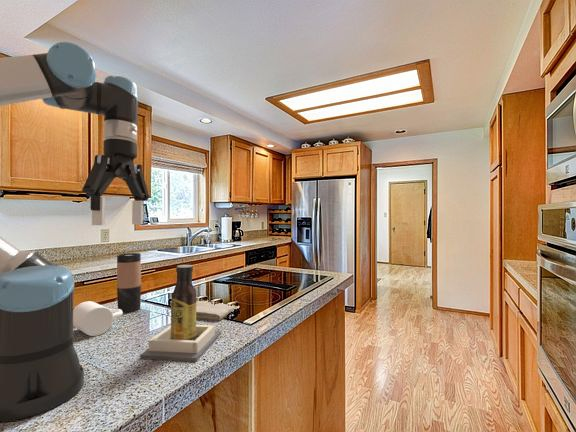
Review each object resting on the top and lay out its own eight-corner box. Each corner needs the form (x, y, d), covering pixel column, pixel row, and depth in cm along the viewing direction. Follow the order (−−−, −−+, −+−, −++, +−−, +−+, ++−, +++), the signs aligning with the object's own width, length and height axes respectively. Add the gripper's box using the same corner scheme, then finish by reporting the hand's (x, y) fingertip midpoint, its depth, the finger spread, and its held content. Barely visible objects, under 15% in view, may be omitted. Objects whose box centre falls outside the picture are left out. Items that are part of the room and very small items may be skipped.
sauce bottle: (166, 342, 78) (165, 265, 78) (188, 335, 82) (188, 262, 82) (178, 349, 73) (178, 268, 73) (201, 341, 78) (200, 265, 78)
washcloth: (195, 307, 113) (195, 298, 113) (238, 311, 107) (238, 303, 107) (173, 317, 101) (173, 308, 101) (220, 323, 96) (220, 313, 96)
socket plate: (196, 361, 69) (196, 347, 69) (140, 358, 71) (139, 344, 71) (220, 334, 85) (220, 322, 85) (173, 332, 87) (173, 320, 87)
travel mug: (145, 308, 109) (145, 253, 109) (124, 314, 102) (124, 256, 103) (133, 305, 113) (133, 252, 113) (112, 311, 107) (112, 254, 107)
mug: (82, 340, 82) (82, 310, 82) (69, 331, 88) (69, 304, 88) (128, 327, 91) (127, 301, 91) (113, 320, 97) (113, 295, 97)
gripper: (94, 125, 63) (92, 225, 63) (162, 151, 88) (161, 224, 88) (63, 126, 65) (61, 225, 64) (139, 152, 89) (138, 223, 89)
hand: (119, 224), depth 76 cm, fingers open, 13 cm apart
